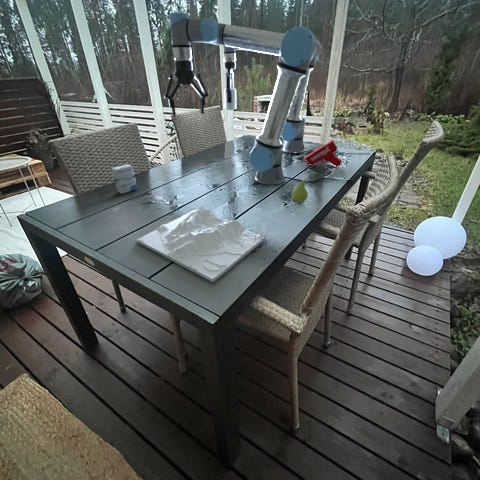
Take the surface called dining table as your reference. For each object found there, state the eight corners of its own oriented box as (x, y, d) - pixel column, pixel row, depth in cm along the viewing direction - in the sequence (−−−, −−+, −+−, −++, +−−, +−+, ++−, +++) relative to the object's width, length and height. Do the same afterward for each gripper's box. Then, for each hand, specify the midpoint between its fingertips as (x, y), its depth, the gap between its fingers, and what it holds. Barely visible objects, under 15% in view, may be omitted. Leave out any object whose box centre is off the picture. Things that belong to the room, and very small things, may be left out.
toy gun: (345, 161, 161) (332, 139, 157) (345, 163, 157) (332, 140, 153) (317, 176, 171) (305, 156, 167) (317, 178, 167) (304, 158, 163)
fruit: (288, 200, 123) (290, 174, 116) (302, 197, 125) (305, 172, 119) (296, 206, 118) (299, 179, 111) (310, 203, 120) (314, 177, 114)
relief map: (212, 282, 77) (211, 268, 74) (137, 242, 94) (134, 229, 91) (264, 240, 95) (265, 227, 92) (193, 213, 113) (192, 201, 110)
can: (236, 108, 189) (236, 88, 182) (236, 109, 182) (235, 89, 176) (225, 108, 189) (224, 88, 182) (224, 109, 182) (224, 89, 176)
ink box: (133, 186, 138) (127, 163, 132) (137, 189, 135) (132, 165, 129) (116, 191, 133) (110, 167, 127) (121, 194, 130) (114, 170, 124)
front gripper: (207, 60, 123) (210, 111, 134) (151, 60, 114) (160, 115, 125) (213, 60, 117) (216, 113, 129) (155, 59, 108) (163, 117, 119)
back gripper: (226, 61, 180) (228, 100, 192) (220, 61, 163) (222, 103, 175) (238, 61, 179) (238, 100, 191) (232, 61, 162) (233, 103, 174)
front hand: (188, 114), depth 127 cm, fingers open, 13 cm apart
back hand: (230, 101), depth 183 cm, fingers closed on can, 8 cm apart
